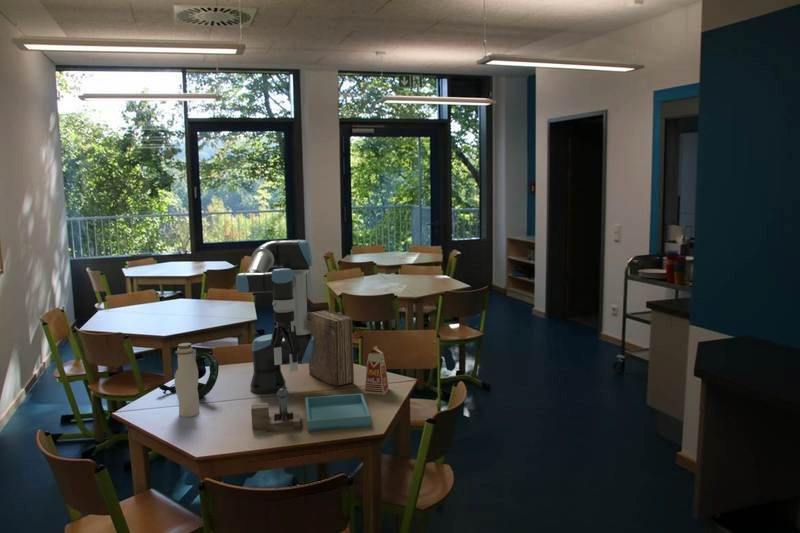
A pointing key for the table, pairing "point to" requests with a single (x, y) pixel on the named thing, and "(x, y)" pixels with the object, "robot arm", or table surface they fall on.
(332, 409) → the tray
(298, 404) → the table surface
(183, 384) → the water bottle
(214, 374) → the headset
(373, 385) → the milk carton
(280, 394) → the dark grey rod
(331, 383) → the book
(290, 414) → the tan blocky piece
